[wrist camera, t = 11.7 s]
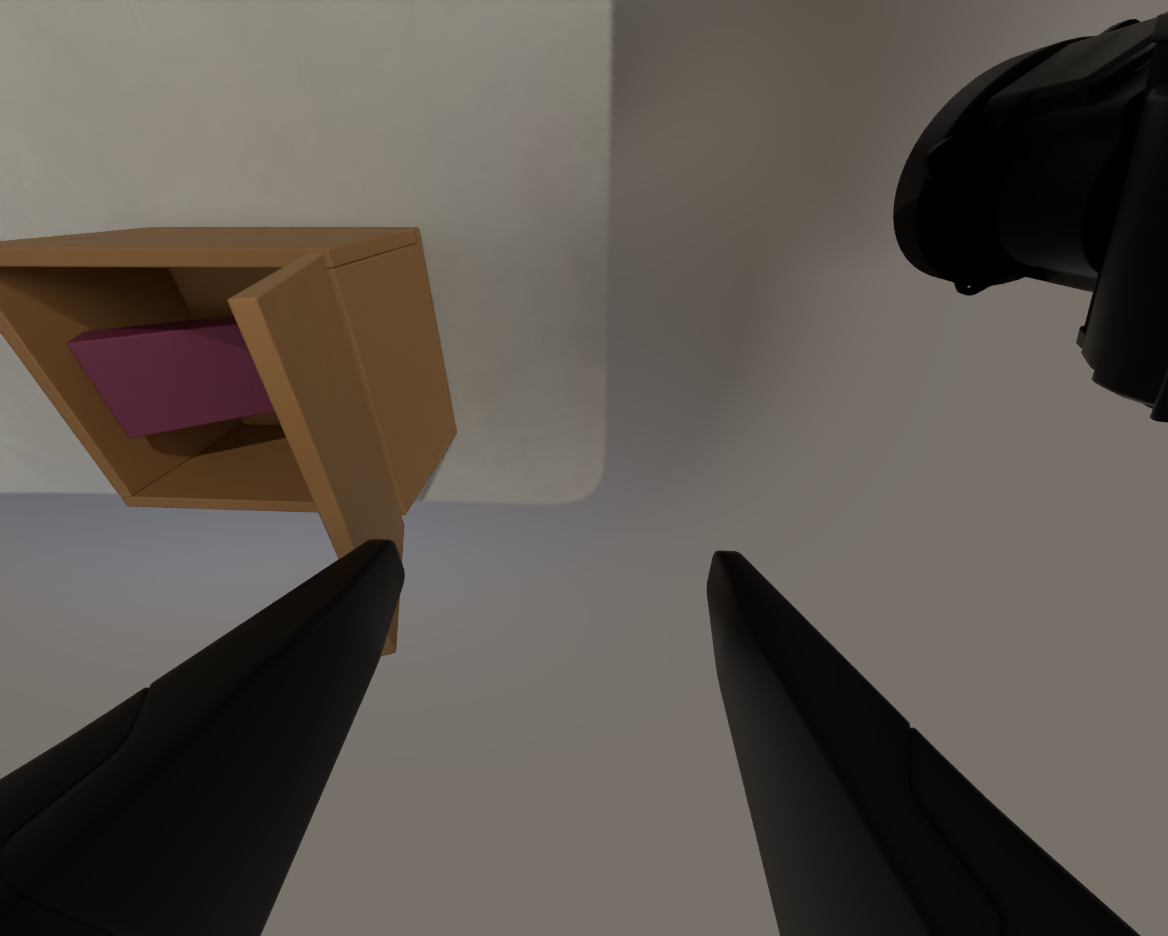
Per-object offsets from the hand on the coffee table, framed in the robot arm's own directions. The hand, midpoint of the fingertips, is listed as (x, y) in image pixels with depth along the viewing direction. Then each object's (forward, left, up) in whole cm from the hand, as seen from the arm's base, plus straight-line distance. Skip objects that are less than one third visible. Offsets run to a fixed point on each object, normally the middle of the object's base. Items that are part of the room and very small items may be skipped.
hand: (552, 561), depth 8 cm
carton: (+7, +10, -13) cm, 18 cm away
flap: (+3, +5, -3) cm, 7 cm away
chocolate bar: (+8, +11, -10) cm, 17 cm away
